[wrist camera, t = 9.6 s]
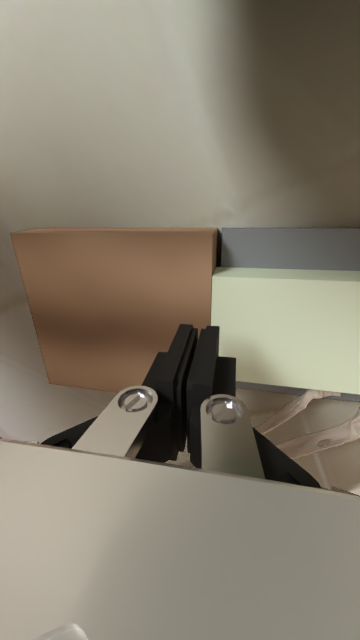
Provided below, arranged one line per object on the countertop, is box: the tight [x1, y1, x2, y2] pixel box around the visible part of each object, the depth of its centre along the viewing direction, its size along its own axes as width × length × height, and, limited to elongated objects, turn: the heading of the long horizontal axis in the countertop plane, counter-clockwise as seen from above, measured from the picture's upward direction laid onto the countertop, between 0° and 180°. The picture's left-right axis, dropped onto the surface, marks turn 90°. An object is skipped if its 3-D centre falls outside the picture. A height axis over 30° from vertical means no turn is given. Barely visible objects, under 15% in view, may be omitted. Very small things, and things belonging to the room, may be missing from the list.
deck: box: [10, 228, 218, 393], centre depth 17 cm, size 10×11×2 cm
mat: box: [221, 228, 360, 402], centre depth 16 cm, size 10×10×1 cm
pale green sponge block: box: [211, 267, 360, 395], centre depth 15 cm, size 6×8×2 cm
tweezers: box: [192, 389, 360, 468], centre depth 20 cm, size 17×5×2 cm, turn 136°
